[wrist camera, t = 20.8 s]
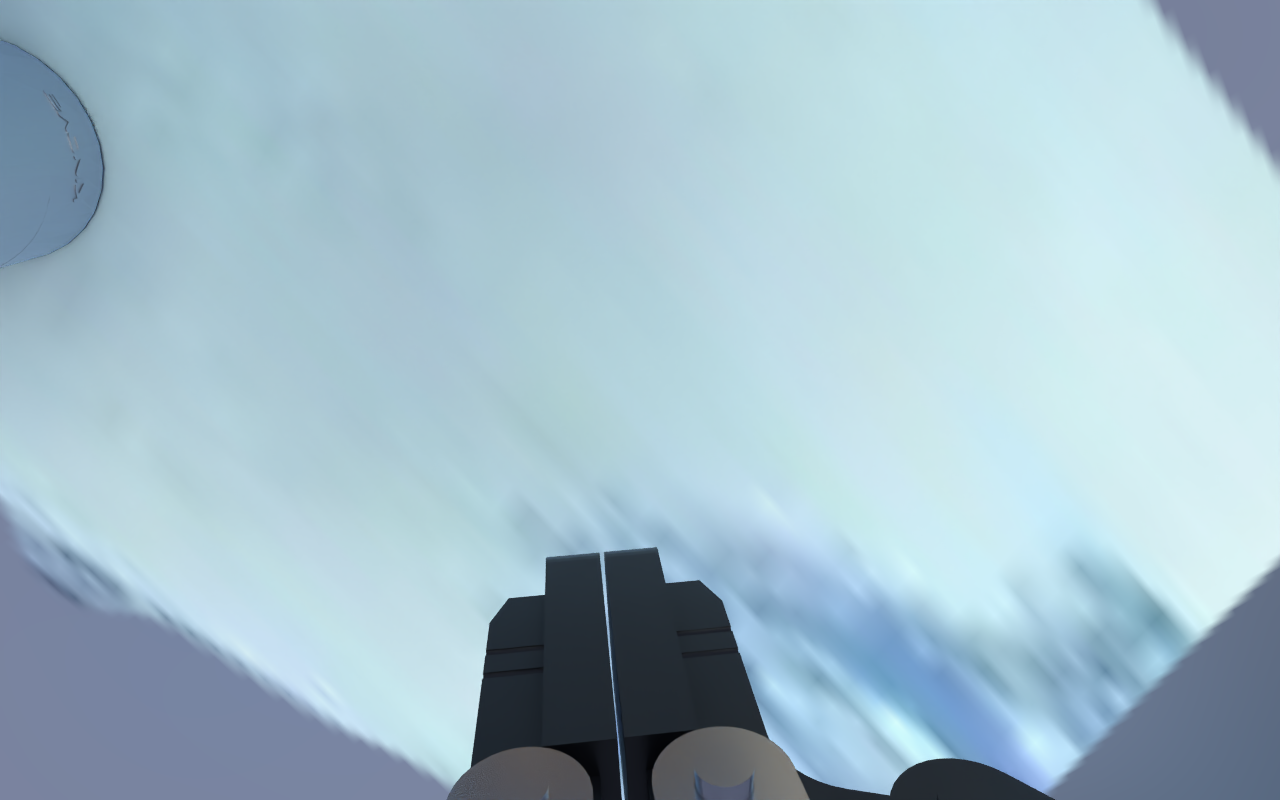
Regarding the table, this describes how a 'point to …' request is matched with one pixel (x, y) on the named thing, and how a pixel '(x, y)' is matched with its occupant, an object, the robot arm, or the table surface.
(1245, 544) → the table surface
